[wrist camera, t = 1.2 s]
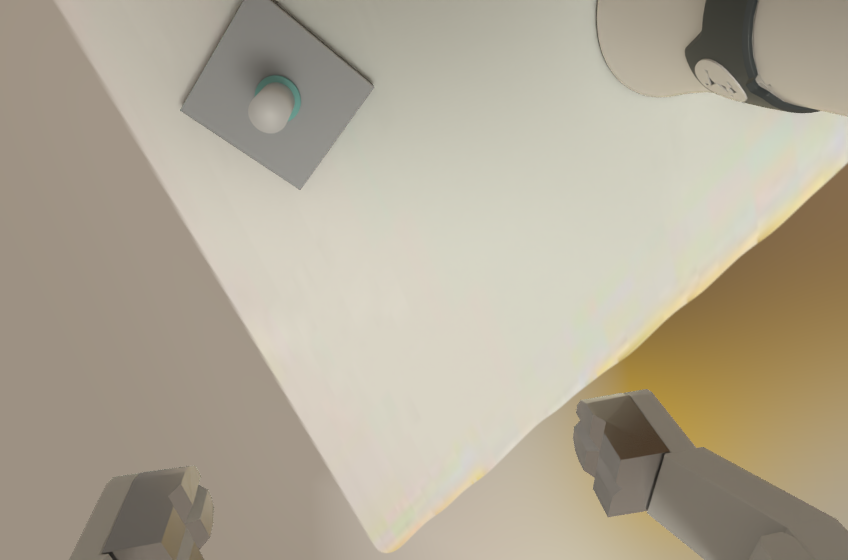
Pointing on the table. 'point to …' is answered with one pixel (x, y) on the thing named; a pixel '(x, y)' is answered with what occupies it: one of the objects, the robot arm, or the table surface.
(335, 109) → the shaft stand
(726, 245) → the table surface
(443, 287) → the table surface
